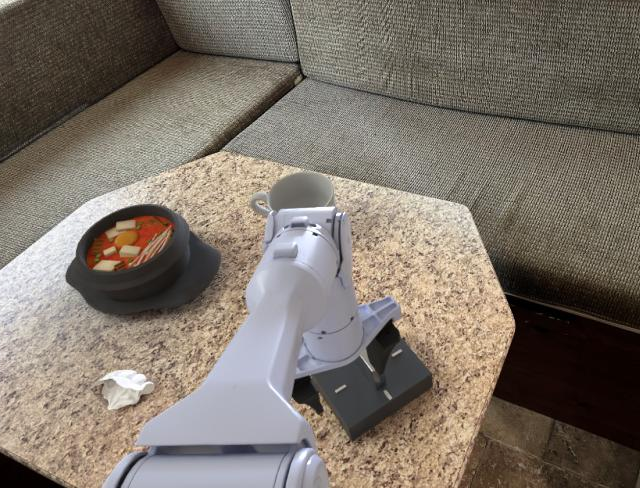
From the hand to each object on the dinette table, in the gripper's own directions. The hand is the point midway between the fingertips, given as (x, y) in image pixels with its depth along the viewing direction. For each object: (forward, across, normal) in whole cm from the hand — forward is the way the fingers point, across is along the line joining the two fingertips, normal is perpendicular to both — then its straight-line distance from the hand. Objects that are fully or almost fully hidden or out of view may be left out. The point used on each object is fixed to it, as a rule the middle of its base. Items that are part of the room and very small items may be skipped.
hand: (347, 386), depth 66 cm
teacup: (+11, -11, -37) cm, 40 cm away
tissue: (+11, +22, -24) cm, 34 cm away
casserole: (+11, +13, -43) cm, 46 cm away
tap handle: (+7, -5, -5) cm, 10 cm away
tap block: (+10, -5, -5) cm, 12 cm away
